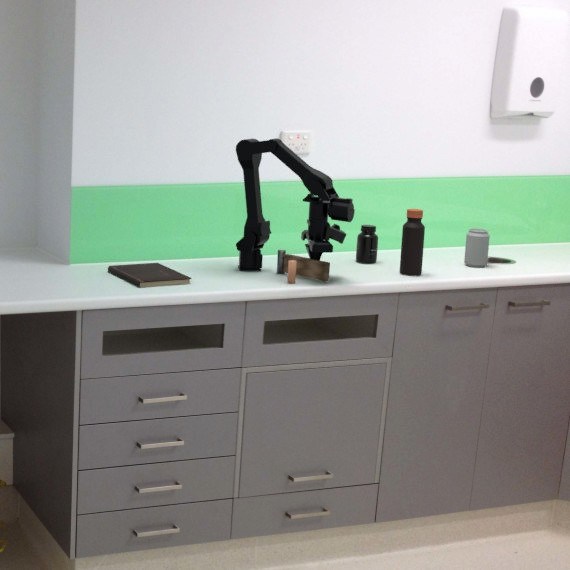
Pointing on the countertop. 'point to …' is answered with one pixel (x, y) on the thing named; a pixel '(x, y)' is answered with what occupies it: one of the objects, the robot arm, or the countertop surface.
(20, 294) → the countertop surface
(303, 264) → the brown long plank slab
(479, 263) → the can
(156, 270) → the hardcover book
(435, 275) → the countertop surface
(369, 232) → the supplement bottle
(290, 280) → the catch post
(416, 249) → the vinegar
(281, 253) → the hinge post
